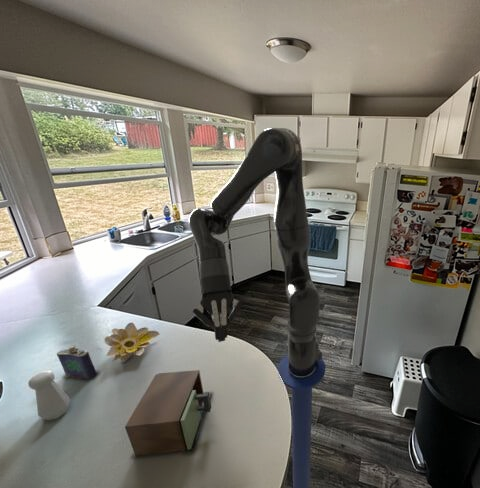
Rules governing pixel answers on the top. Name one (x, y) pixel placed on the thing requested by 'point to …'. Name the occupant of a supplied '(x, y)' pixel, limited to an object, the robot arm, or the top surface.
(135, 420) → the cabinet
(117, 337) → the decorative flower
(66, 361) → the flask
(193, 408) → the sliding door
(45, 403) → the salt shaker
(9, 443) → the top surface
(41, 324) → the top surface
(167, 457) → the top surface
